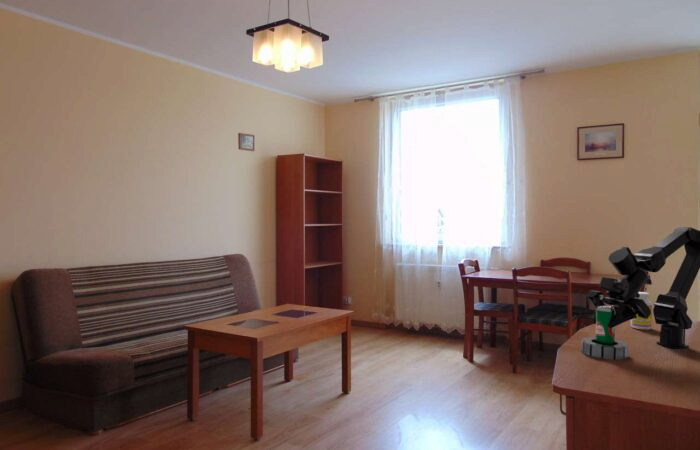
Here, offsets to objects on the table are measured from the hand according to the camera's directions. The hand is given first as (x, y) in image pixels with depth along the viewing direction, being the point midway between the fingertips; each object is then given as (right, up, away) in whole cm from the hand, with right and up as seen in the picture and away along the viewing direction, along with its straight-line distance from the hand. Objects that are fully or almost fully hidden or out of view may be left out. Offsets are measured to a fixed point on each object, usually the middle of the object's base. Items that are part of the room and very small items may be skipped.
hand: (601, 325), depth 152 cm
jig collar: (+1, -9, +1) cm, 9 cm away
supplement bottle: (+32, -8, +36) cm, 49 cm away
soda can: (+1, -7, +1) cm, 7 cm away
